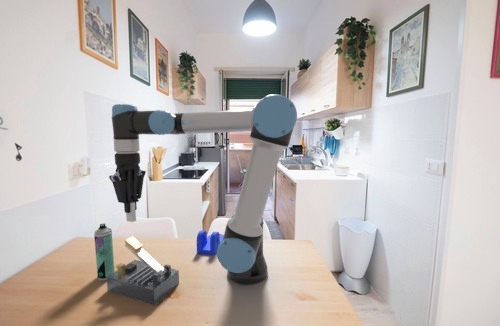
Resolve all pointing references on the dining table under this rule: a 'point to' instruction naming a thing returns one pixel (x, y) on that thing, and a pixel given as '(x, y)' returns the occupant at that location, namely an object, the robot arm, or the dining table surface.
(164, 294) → the finned block
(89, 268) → the dining table surface
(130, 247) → the bar
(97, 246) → the spray can
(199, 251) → the bracket
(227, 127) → the robot arm
